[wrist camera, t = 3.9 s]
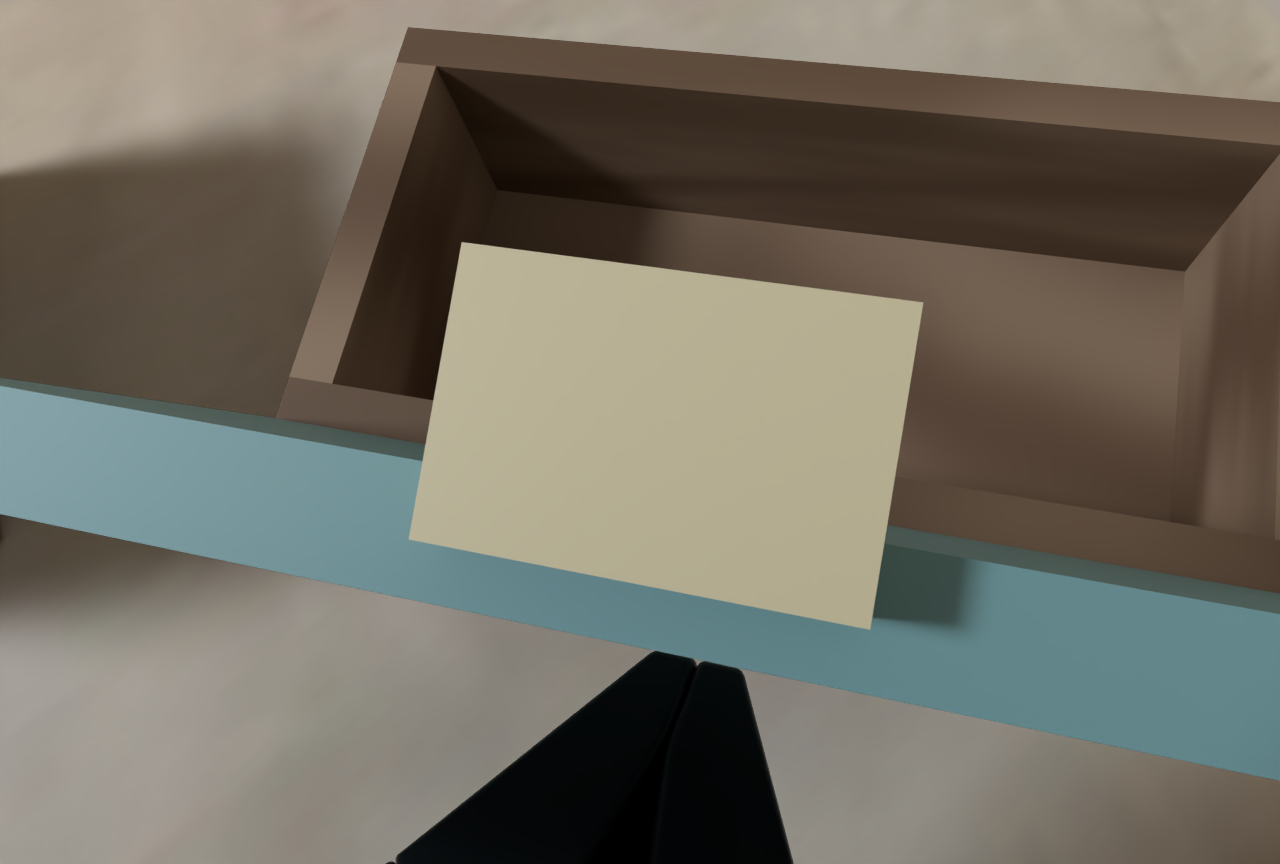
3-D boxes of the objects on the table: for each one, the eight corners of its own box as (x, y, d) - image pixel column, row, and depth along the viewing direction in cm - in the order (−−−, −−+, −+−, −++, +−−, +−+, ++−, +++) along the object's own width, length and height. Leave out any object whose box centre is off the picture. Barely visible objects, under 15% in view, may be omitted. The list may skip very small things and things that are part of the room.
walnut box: (1194, 648, 18) (1337, 607, 13) (387, 498, 21) (273, 420, 16) (1214, 260, 20) (1342, 108, 16) (483, 175, 23) (408, 27, 19)
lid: (1362, 493, 13) (1334, 679, 13) (284, 327, 16) (257, 477, 16) (2315, 484, 5) (2256, 1012, 5) (-304, 141, 8) (-367, 452, 8)
